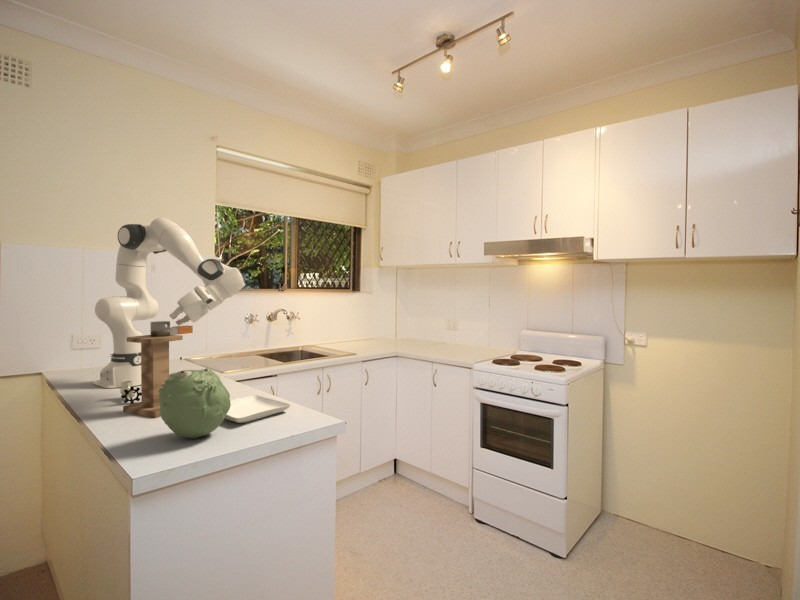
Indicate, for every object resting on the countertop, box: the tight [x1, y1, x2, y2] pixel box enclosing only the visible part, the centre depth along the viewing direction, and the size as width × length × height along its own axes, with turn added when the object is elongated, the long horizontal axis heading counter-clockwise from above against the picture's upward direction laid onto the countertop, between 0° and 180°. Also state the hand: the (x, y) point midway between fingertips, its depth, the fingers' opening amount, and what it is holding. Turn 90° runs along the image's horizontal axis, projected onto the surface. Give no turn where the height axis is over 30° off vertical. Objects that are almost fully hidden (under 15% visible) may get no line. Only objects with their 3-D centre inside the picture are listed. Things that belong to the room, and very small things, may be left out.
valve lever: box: [150, 320, 194, 337], centre depth 149 cm, size 6×15×5 cm, turn 158°
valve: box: [120, 381, 141, 405], centre depth 155 cm, size 7×7×12 cm
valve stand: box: [122, 334, 184, 419], centre depth 143 cm, size 16×12×26 cm
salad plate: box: [224, 394, 292, 424], centre depth 141 cm, size 21×21×3 cm
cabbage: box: [158, 367, 231, 439], centre depth 118 cm, size 16×19×20 cm
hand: (173, 320), depth 151 cm, fingers open, 8 cm apart
